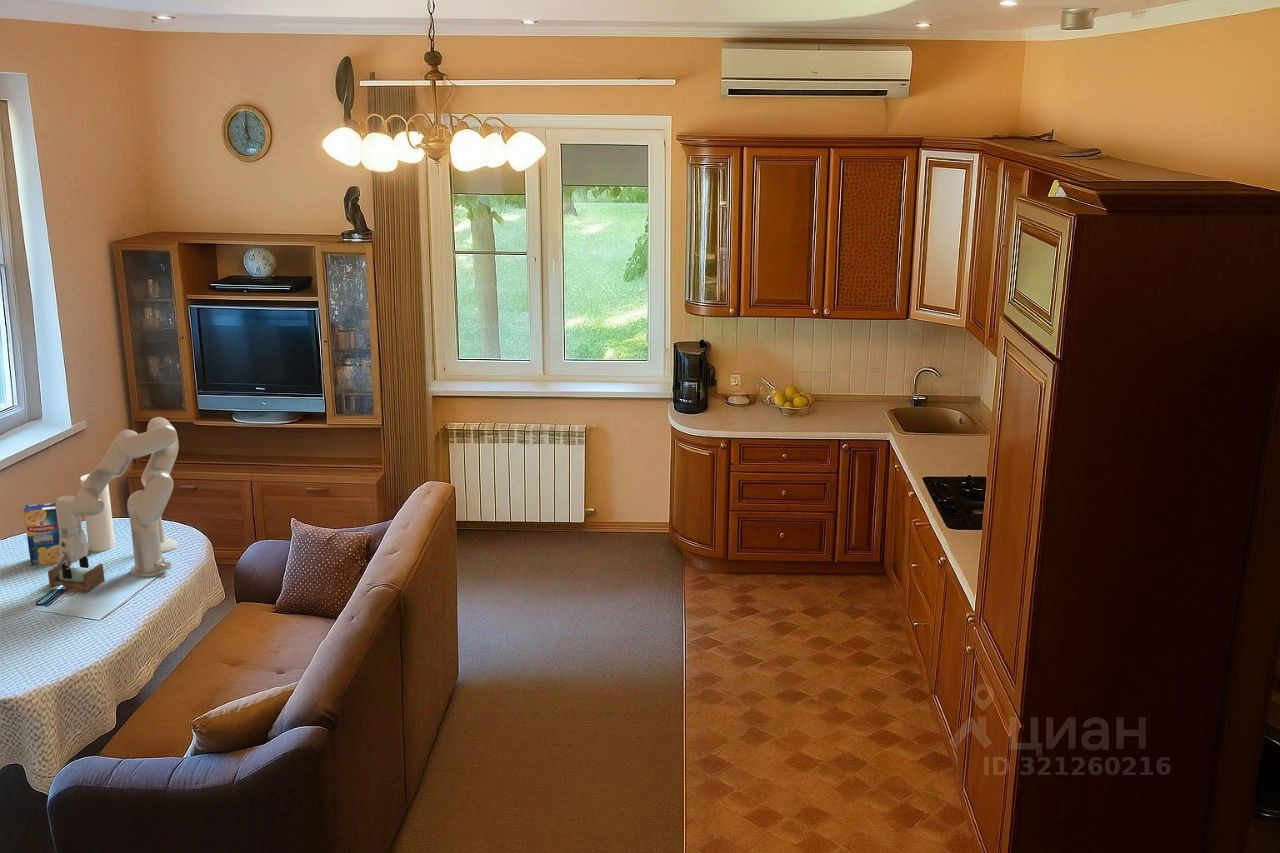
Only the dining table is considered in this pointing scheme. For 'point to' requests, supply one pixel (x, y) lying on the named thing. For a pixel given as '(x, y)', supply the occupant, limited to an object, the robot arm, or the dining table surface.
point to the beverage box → (42, 533)
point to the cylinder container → (100, 525)
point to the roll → (74, 575)
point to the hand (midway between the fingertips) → (76, 572)
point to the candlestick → (165, 540)
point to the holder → (90, 582)
